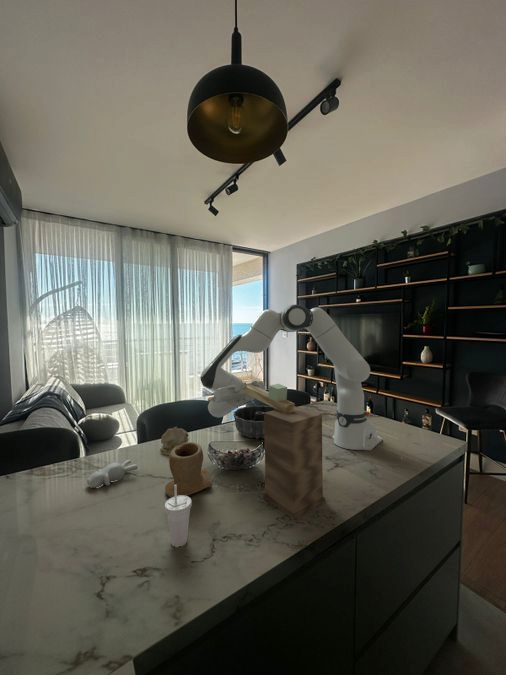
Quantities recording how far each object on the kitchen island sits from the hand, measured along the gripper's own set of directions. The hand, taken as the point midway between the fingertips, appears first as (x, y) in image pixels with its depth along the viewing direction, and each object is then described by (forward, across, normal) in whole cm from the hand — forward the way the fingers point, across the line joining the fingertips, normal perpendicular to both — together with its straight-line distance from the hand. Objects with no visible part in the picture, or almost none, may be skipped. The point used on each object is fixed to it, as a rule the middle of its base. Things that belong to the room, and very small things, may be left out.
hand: (250, 383), depth 103 cm
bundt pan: (-42, +27, +13) cm, 51 cm away
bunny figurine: (-39, -40, +14) cm, 58 cm away
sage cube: (+11, 0, +9) cm, 14 cm away
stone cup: (-19, -22, +26) cm, 39 cm away
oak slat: (+5, 0, +8) cm, 10 cm away
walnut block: (+2, 0, +38) cm, 38 cm away
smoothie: (-2, -34, +36) cm, 49 cm away
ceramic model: (-48, -13, +10) cm, 50 cm away
